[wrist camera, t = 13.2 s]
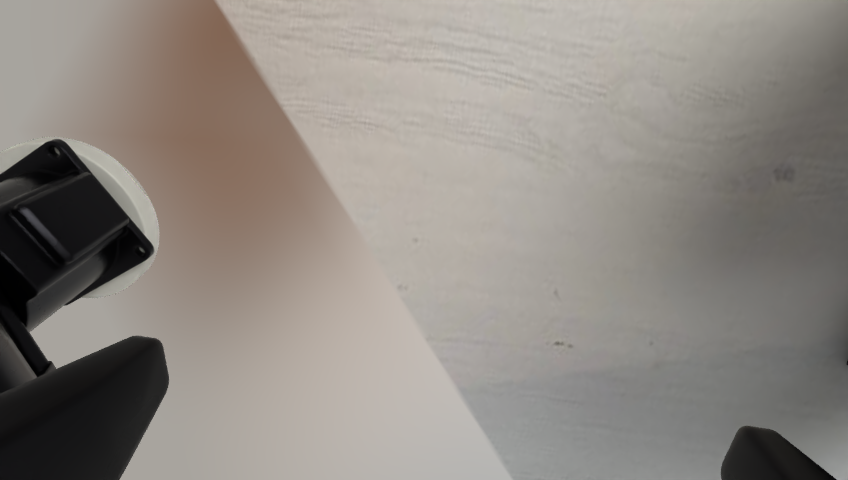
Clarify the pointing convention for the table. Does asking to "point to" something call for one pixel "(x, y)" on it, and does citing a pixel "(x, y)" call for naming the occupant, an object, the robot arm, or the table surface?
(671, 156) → the table surface
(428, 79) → the table surface
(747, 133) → the table surface
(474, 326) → the table surface
